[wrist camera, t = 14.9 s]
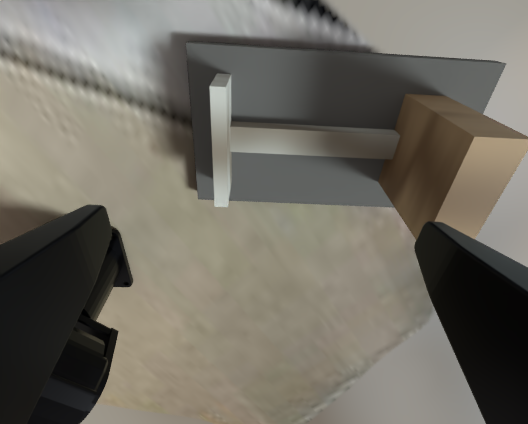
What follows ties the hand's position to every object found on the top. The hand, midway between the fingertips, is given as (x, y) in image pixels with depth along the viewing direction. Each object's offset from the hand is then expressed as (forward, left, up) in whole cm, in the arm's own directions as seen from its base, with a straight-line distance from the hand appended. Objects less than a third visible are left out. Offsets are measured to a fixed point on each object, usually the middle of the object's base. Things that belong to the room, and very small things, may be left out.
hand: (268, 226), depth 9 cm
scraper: (-2, -4, -12) cm, 13 cm away
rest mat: (-2, -5, -13) cm, 14 cm away
